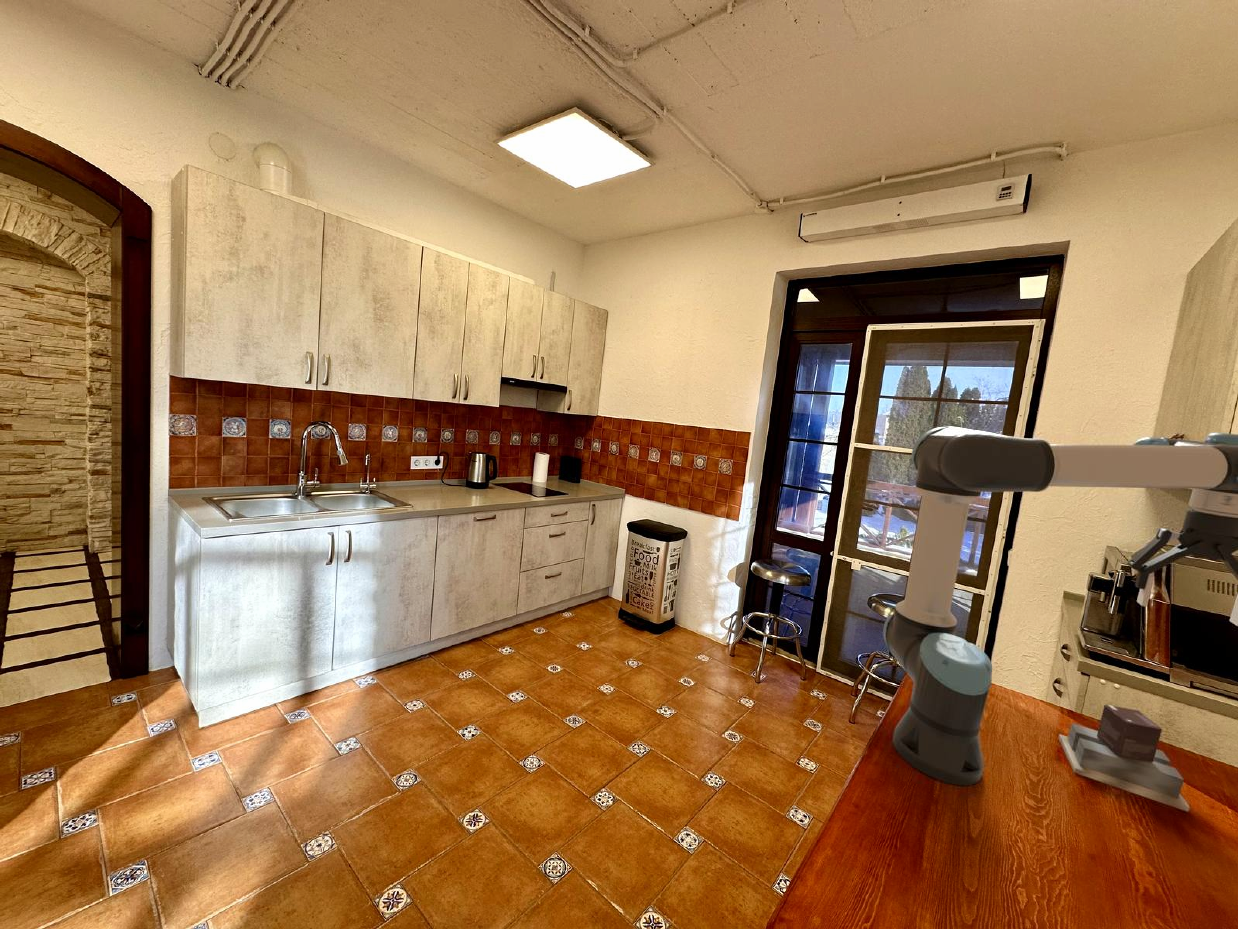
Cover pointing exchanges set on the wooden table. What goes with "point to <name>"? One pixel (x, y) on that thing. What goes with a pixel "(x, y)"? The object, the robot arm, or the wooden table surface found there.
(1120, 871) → the wooden table surface
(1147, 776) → the stand
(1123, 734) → the box
